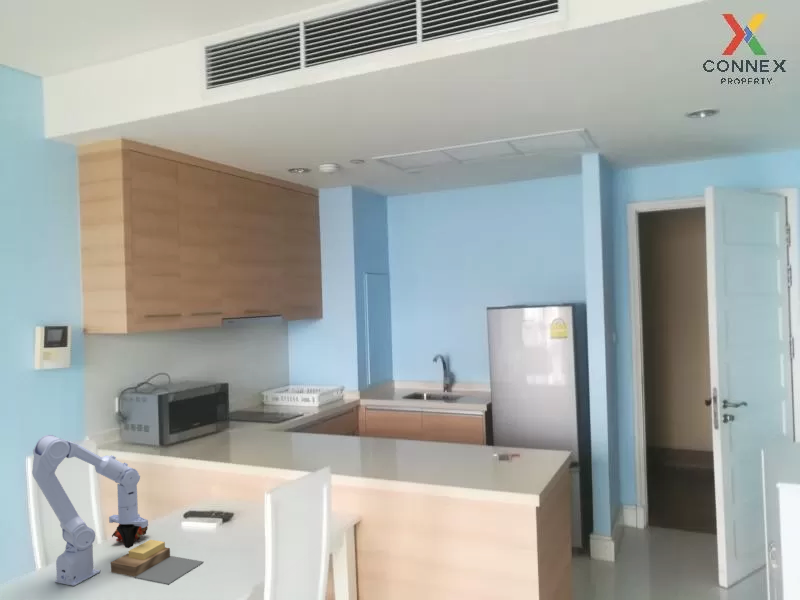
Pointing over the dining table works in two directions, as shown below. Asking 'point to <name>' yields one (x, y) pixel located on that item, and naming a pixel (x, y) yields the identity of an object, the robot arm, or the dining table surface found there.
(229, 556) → the dining table surface
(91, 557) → the robot arm
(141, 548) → the yellow rectangular block
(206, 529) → the dining table surface
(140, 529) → the dragon fruit
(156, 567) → the mat
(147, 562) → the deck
